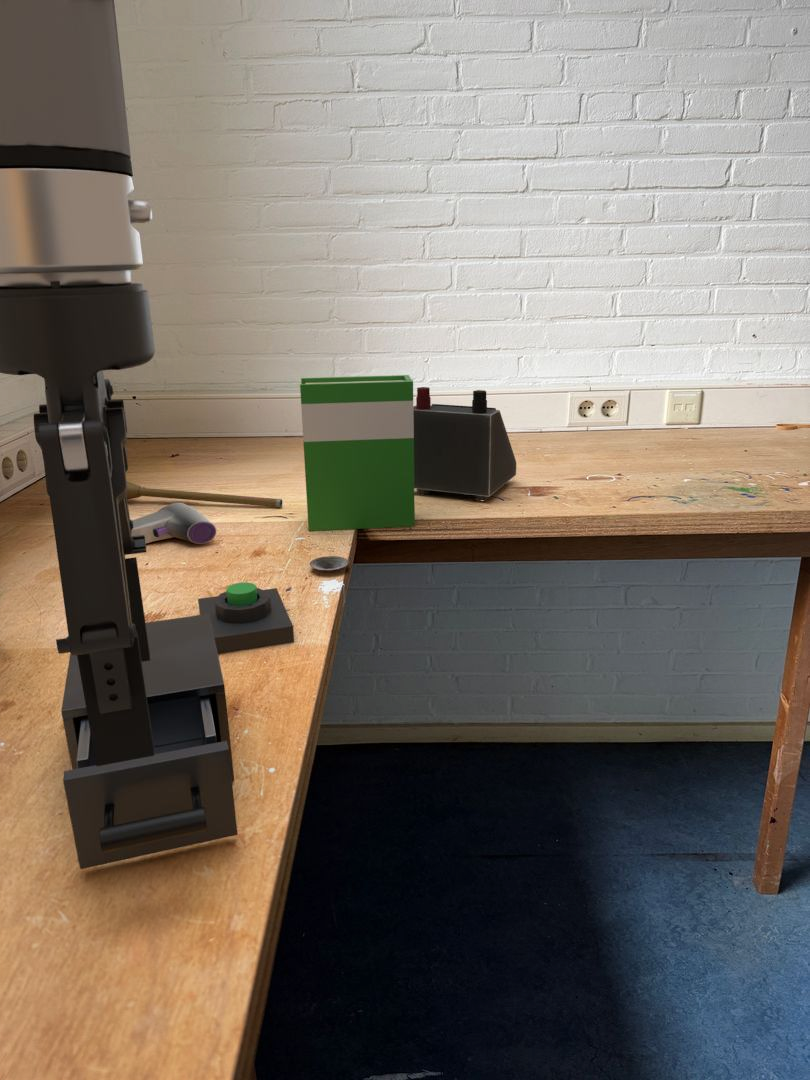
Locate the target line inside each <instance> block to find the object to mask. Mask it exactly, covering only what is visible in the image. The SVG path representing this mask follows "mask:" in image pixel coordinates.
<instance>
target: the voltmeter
mask: <svg viewBox="0 0 810 1080" xmlns="http://www.w3.org/2000/svg"><path fill="white" fill-rule="evenodd" d="M430 390H431V388H430V387H428V386H421V387H417V388H416V397H415V399H416V400H415V403H416V404H415V405H413V415H414V489H416V492H417V494H418V493H419V494H418V495H421V494H425V495H428V494H429V493H430V491H435V492H444V493H453V494H463V495H472V496H475V500H476V499H477V500H486V499H488V500H489V498H490V497H491V496H492V495H493V494H495V493H496V492H497V491H498V490H500V489H501V488H502V487H503V486H505V485H504V484H506V483H507V484H508V483H509V481H511V479H513V478H515V476H517V460H516V457H515V453H514V450H513V447H512V444H511V441H510V438H509V435H508V431H507V429H506V426H505V422H504V419H503V416H502V413H501V410H500V409H497V408H496V407H488V400H487V391H486V390H483V389H482V390H481V389H477V390H473V391H472V400H471V405H457V404H440V403H439V404H438V403H431V401H432V400H431V395H430V394H431V393H430ZM507 484H506V485H507ZM427 493H428V494H427ZM477 500H476V501H477Z"/></svg>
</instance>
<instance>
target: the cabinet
mask: <svg viewBox="0 0 810 1080" xmlns="http://www.w3.org/2000/svg"><path fill="white" fill-rule="evenodd" d="M145 623H146V631H147V638H148V645H149V652H150V661H144V662H142V668H143V675H144V682H145V689H146V696H147V703H148V705H151V704H157V703H163V702H169V701H174V700H180V699H186V698H192V697H198V696H204V695H209V698H210V704H211V710H212V715H213V721H214V727H215V733H216V740H217V743H218V742H223V741H227V744H228V749H229V759H230V768H231V777H232V782H234V781H235V774H234V763H233V754H232V744H231V735H230V726H229V725H230V724H229V716H228V715H229V714H228V708H227V707H228V706H227V697H226V687H225V686H226V685H225V682H224V677H223V672H222V666H221V662H220V658H219V654H218V653H217V648H216V643H215V639H214V634H213V629H212V625H211V620H210V615H209V614H204V615H200V614H196V615H191V616H184V617H175V618H169V619H162V620H157V621H148V622H145ZM60 712H61V717H62V723H63V728H64V734H65V739H66V744H67V749H68V750H67V751H68V755H69V760H70V766H71V770H73V769H78V767H77V761H76V760H77V751H78V742H79V734H80V725H81V716H86V715H87V710H86V704H85V698H84V693H83V687H82V681H81V675H80V670H79V664H78V658H77V655H75V656H72V653H70V652H69V659H68V665H67V671H66V678H65V685H64V691H63V698H62V703H61V710H60Z"/></svg>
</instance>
